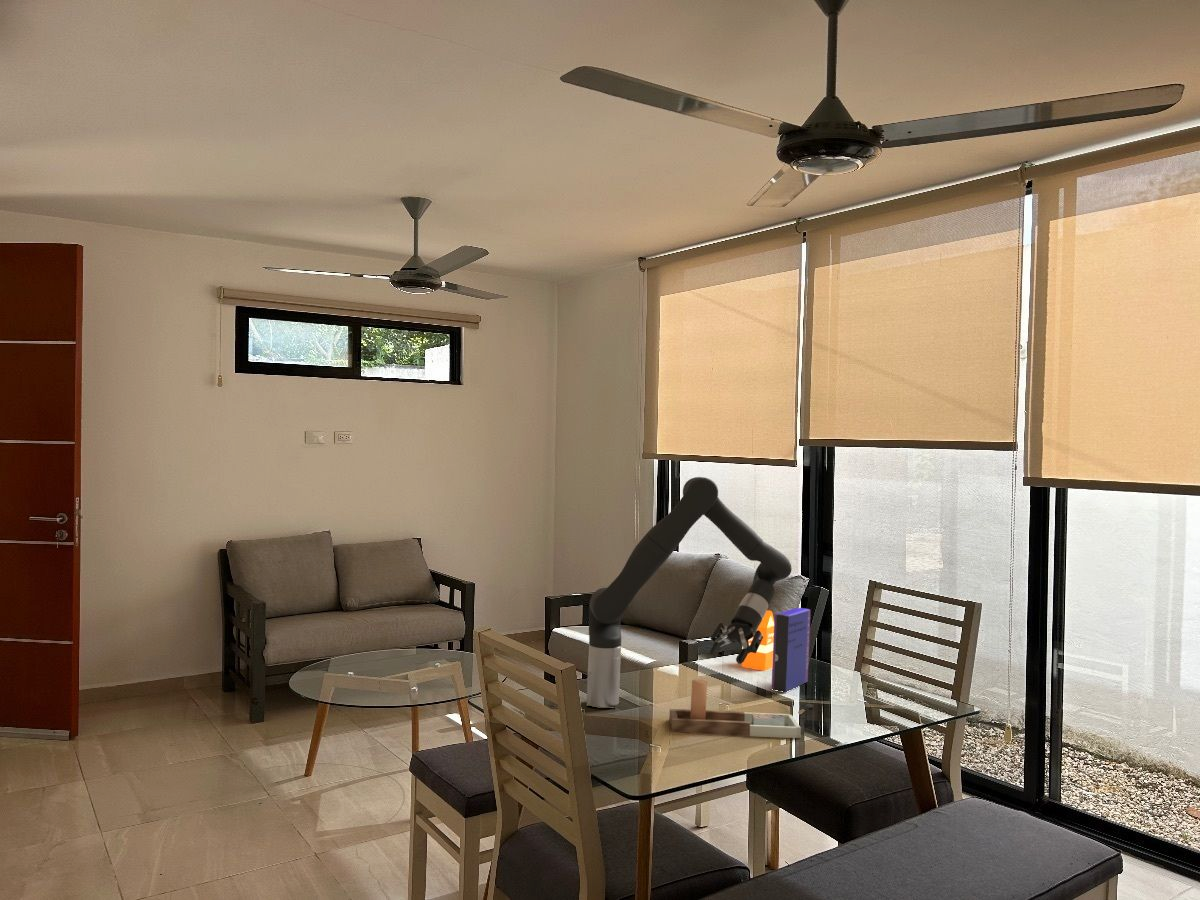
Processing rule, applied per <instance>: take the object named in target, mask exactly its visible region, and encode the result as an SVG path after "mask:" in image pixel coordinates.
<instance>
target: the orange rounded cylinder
mask: <svg viewBox="0 0 1200 900" xmlns="http://www.w3.org/2000/svg"><path fill="white" fill-rule="evenodd" d="M707 693H708V681H707V680H706V679H698V678H697V679H696V678H695V679H692V680H691V695H690V696H691V697H690V710H691V713H690V719H703V720H705V718H706V710H707V697H708V696H707Z"/></svg>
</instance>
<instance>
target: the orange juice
mask: <svg viewBox="0 0 1200 900" xmlns="http://www.w3.org/2000/svg"><path fill="white" fill-rule="evenodd" d="M758 630H759V631H760V632H761V634H762V635H763V639H762V641H761V643H760V646H759V648H758V650H757V652H756V653H753V652H751V653H749V654H748V655H747V657H746V658H745V660H744V662H743V663H741V667H742V668H748V669H752V670H753V669H754V670H759V671H763V672H766V671H767V670H770V669H772V665H773V640H774V614H773V611H772V610H768V609H767V611H766V614H765V616H764V618H763V619H762V621H761V623H760V625H759V627H758V629H757V631H758ZM752 640H753V638H751V639H749V640H748V642H749V646H750V644H751V642H752ZM741 649H743V646H742V648H741Z"/></svg>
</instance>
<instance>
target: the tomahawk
mask: <svg viewBox="0 0 1200 900" xmlns="http://www.w3.org/2000/svg"><path fill="white" fill-rule="evenodd" d="M805 707H807V708H810V709H812V708H813V707H814V706H813V704H811V703H807V704H805V706H804V708H805ZM804 708H802V709H800V710H799V711H797V713H798V714H799V715H800V714H802V713H803V712H804V711H805V710H804Z"/></svg>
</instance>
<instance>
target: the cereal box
mask: <svg viewBox="0 0 1200 900" xmlns="http://www.w3.org/2000/svg"><path fill="white" fill-rule="evenodd" d="M773 618H774V640H773V665H772V668H771V672H772V673H771V690H772V689H773V690H778V691H783V692H787V691H789V690H791V689H793V688H795V689H797V688H799V687H801V686H800V685H802V684H804V683H806V682H808V679H809V658H810V657H809V656H810V655H809V654H810V635H811V634H810V632H811V628H810V627H811V609H809V608H805V607H804V608H803V607H794V608H791V609H789V610H785V611H782V612H781V611H780V612H778V613H775V614H773ZM806 684H807V683H806ZM804 685H805V684H804ZM798 686H799V687H798ZM802 686H803V685H802ZM796 687H797V688H796ZM773 690H772V691H773ZM793 690H794V689H793ZM778 691H777V692H778ZM791 691H792V690H791ZM783 692H782V693H783ZM789 692H790V691H789ZM787 693H788V692H787Z"/></svg>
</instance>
